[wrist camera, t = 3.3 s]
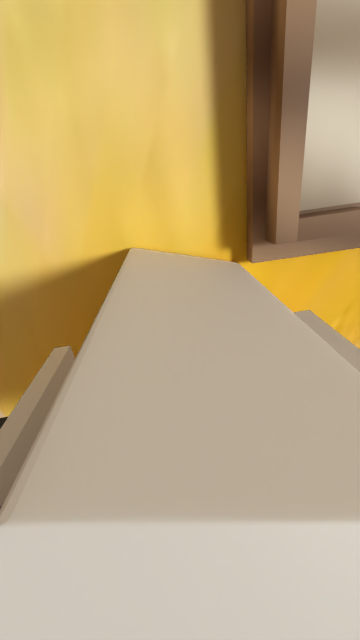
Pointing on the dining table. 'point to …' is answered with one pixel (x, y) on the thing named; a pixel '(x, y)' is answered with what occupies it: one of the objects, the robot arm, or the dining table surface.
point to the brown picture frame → (302, 127)
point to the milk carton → (190, 472)
